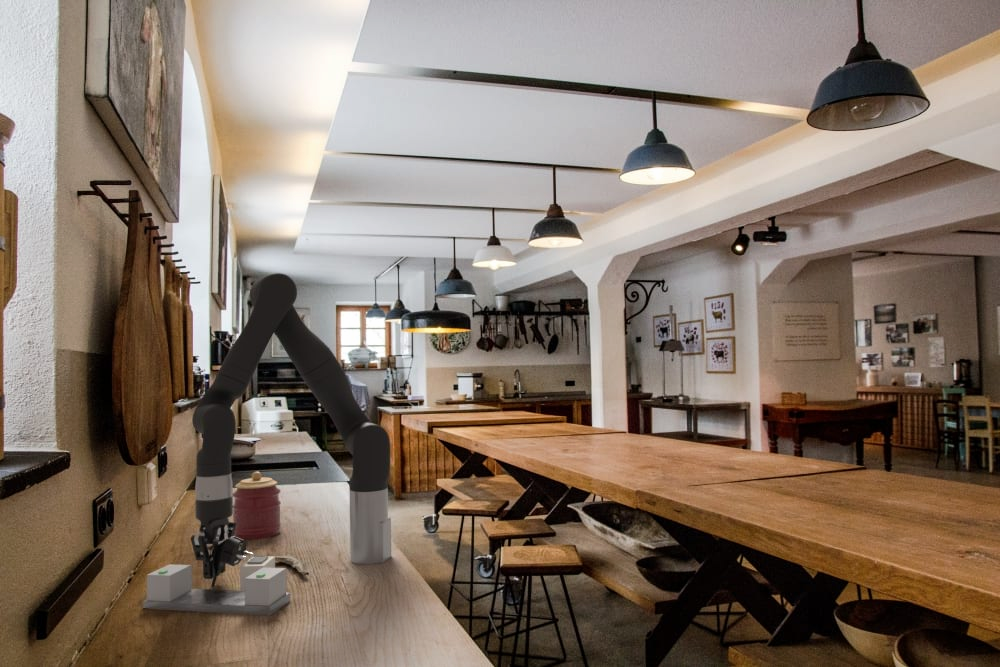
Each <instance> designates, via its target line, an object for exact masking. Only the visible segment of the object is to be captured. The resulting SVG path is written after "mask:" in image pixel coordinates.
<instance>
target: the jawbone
mask: <svg viewBox="0 0 1000 667" xmlns="http://www.w3.org/2000/svg"><path fill="white" fill-rule="evenodd" d="M266 556H267V555H264V554H262V555H253V557H266ZM275 562H281V563H284V564H287V565H290V566H291V567H292V568H294V569H296V570H297V571H298V572H299V573H300V574H301V575H302V576H303V577H304V576H308V575H310V573H309V572H308V570H305V568H306V565H305V562H304V561H302V560H300V559H298V558H296V557H295V556H294V555H291V554H289V555H288V554H287V555H277V556H275Z"/></svg>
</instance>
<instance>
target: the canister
mask: <svg viewBox="0 0 1000 667" xmlns="http://www.w3.org/2000/svg"><path fill="white" fill-rule="evenodd" d="M277 485H278V481H276V480H274V479H273V478H272V477H268V476H267V477H266V476H265V477H264V476H263V477H262V473H261V472H260V471H254V472H253V473H252V474H251V478H246V479H241V480H240V481H239V482H238V483H236V484H235V488H236V490H235V491H234V492H233V514H232V522H236V528H235V534H234V536H235V537H238V538H240V539H243V540H257V539H258V540H259V539H266V538H270V537H274V536H276V535H278V534H280V532H281V528H282V523H281V502H282V501H281V500H280V496H279V494H280V493H281V489H280V488H278V487H277Z"/></svg>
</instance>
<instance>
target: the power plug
mask: <svg viewBox="0 0 1000 667" xmlns="http://www.w3.org/2000/svg"><path fill="white" fill-rule="evenodd" d="M247 546H248V542H247V540H246V539H240V538H238V537H235V536H232V537H230V538H228V539H226V540H225V541H223V542H222V543H220V544H218V545H217V549H216V550H215V558H214V561H215V577H214V578H212V581H211V584H210V587H215V585H216V582H217V577H219V576H220V575H221V573H220V572H221V570H222V567H223V565H224V564H226V565H228V566H231V567H235V566H238V564H240V563H241V561H247V559H248V558H247V557H250V558H251V557H253V556H254V553H253V552H250V551H247V549H248V548H247Z"/></svg>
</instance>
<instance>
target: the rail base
mask: <svg viewBox="0 0 1000 667" xmlns="http://www.w3.org/2000/svg"><path fill="white" fill-rule="evenodd" d="M290 602H291V592H287V591H286V594H285V595H283V596H282V597H281V598H279V599H278V600H276V601H275V602H274V603H272V604H271V605H269V606H265V605H245V591H240V590H233V589H231V590H230V589H208V588H205V589H204V588H192V590H190V591H188V592H186V593H184V594H183V595H181V596H179V597H177V598H175V599H173V600H171V601H148V600H147V598H146V599H145V600H143V601H142V609H143V608H148V609H147V610H164V611H165V610H167V611H181V612H199V613H200V612H201V613H214V614H215V613H217V614H218V613H219V614H236V615H255V616H269V617H270V616H272V615H273V614H274V613H276V612H277V611H279V610H280V609H282V608H283V607H284V606H286V605H287V604H289V603H290Z"/></svg>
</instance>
